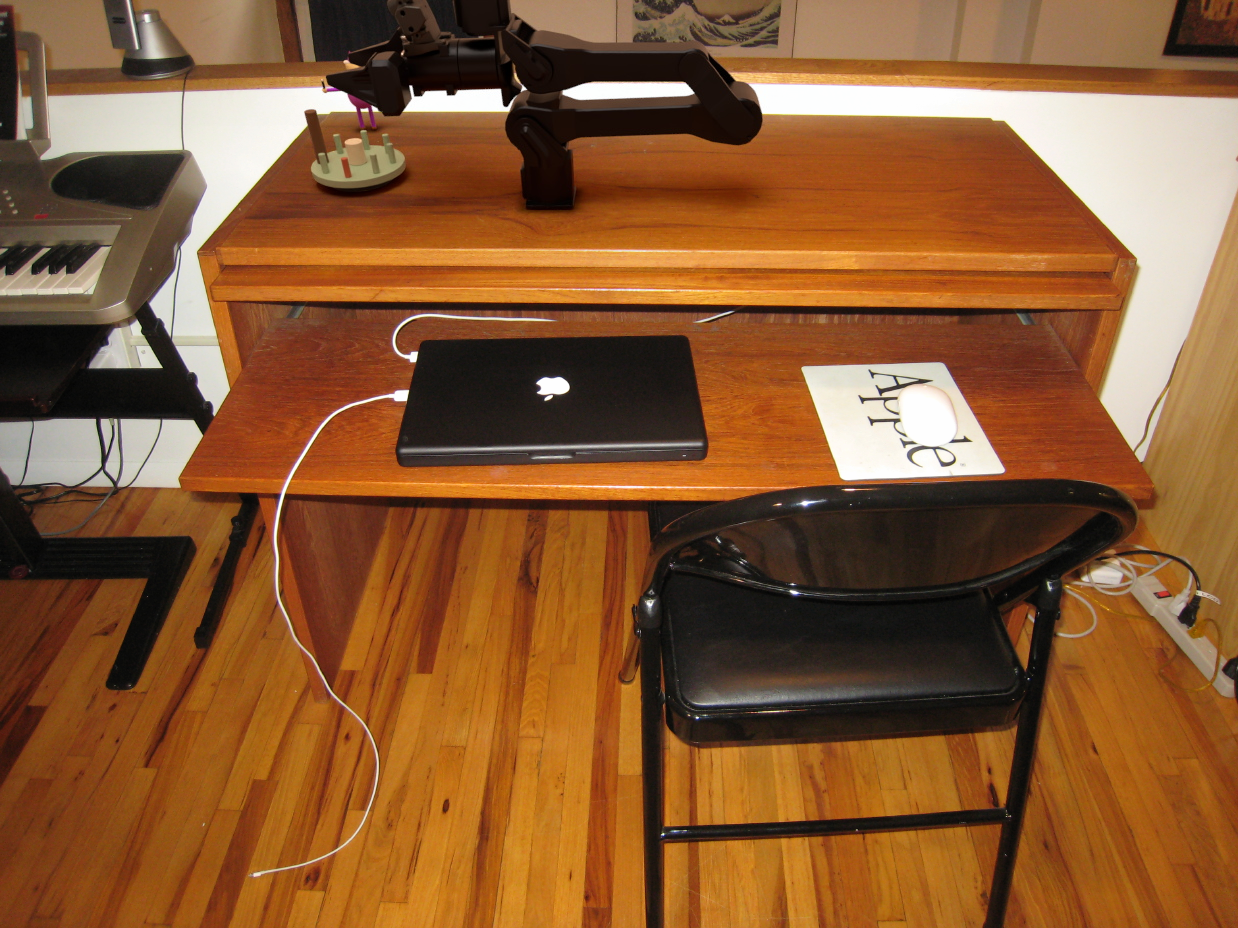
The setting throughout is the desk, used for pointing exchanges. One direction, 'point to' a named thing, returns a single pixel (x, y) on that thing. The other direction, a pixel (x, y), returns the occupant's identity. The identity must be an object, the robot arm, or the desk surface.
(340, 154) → the pegged crank wheel
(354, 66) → the wizard figurine
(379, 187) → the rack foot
